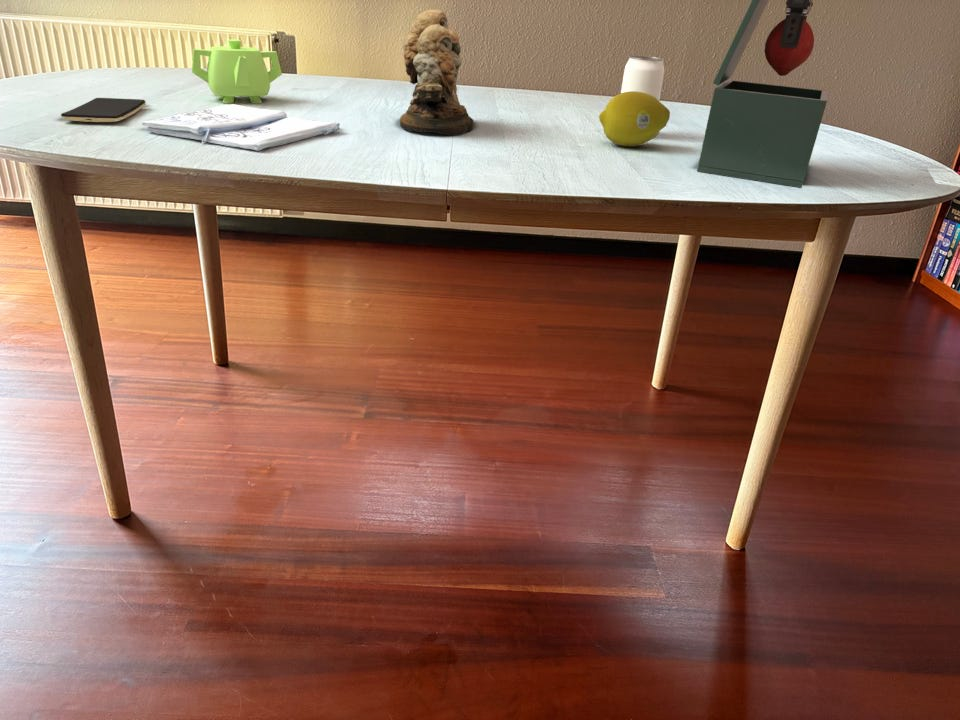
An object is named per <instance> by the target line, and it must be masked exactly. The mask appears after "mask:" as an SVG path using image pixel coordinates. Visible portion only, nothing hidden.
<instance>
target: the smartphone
mask: <svg viewBox="0 0 960 720" xmlns="http://www.w3.org/2000/svg"><path fill="white" fill-rule="evenodd" d="M146 104H147V102H146V100H145V99H140V98H139V99H138V98H137V99H136V98H117V97H116V98H113V97H95V98H92V99H91V100H90V101H87V102H85V103H83V104H81V105H79V106H77V107H75V108H72V109H70V110H67V111H64V112H62V113H61V114H60V117H61V120H66V121H73V122H83V123H113V122H119V121H122V120H124V119H127V118H128V117H131V116H133V115H134V114H136V113H137V112H138V111H141V109H142V108H144V107H145V106H146Z"/></svg>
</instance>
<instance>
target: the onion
mask: <svg viewBox="0 0 960 720" xmlns="http://www.w3.org/2000/svg"><path fill="white" fill-rule="evenodd" d="M802 16H803V15H802ZM784 22H785V18H784V19H781V21H780V22H778V23H777V24H776V25H775V26H774V27H773V28H772V29H771V31H770V32H769V34H768V36H767V38H766V41H765V44H764V56H765V59H766V61H767V63H768V65H769V66H770V67H771V69H773V71H774V72H775V73H776V74H777V75H778V76H781V77H783V76H788V75H789V74H790V73H791V72H792V71H794V70H796V69H797V68H798V67H800V66H802V65H803V64H804V63H805V62H806V61H807V60H808V59H809V58H810V56H812V55H811V54H812V52H813V49H814V46H815V37H814V36H815V35H814V31H813V29H812V27H811V26H810V24H809V23H808V21H807V19H806V20H804V23H803V27H802V31H801V35H800V39H799V43H798V46H797V47H796V48H794V49H792V48H782V47H780V45H779V43H780V38H781V34H782V30H783V26H784Z"/></svg>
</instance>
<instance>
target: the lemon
mask: <svg viewBox="0 0 960 720" xmlns="http://www.w3.org/2000/svg"><path fill="white" fill-rule="evenodd" d="M670 117H671V112H670V110H669V108H668V107H666V106H665V105H664V104H663V103H662V102H661V101H660V100H659V101H658V100H657V99H656V98H655V97H653V96H651V95H649V94H646V93H642V92H635V91H631V92H624V93H621V92H620V93H618V94H616V95H615V96H614V97H612V98H611V99H610V100H609V101H608V102H607V104H606V106H605V109H603V110H602V111H601V112H600V114H599V115H598V119H599V122H600V123H601V126H602V128H603V133H604V135H605V137H606V138H607V139H608V141H610V142H611V143H613V144H615V145H618V146H622V147H637V146H640V145H643V144H645V143H647V142H649V141H651V140H653V139H654V138H655V137H656V136H657V135H658V134H659V133H660V132H661V130H663V129H664V128H665V127H666V126H667V124H668V122H669V120H670Z"/></svg>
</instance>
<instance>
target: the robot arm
mask: <svg viewBox="0 0 960 720" xmlns="http://www.w3.org/2000/svg"><path fill="white" fill-rule="evenodd" d="M813 5H814V2H813V0H786V1H785V9H784V11H785V17H784V19H785V22H784V26H783V30H782V34H781V38H780V43H779V45H780V47H782V48H792V49H794V48H796V47H797V46H798V43H799V39H800V35H801V31H802V27H803V23H804V20H806V21H807V18H808V16H809V14H810V13H811V11H812V7H813ZM802 15H803V16H802Z"/></svg>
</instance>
